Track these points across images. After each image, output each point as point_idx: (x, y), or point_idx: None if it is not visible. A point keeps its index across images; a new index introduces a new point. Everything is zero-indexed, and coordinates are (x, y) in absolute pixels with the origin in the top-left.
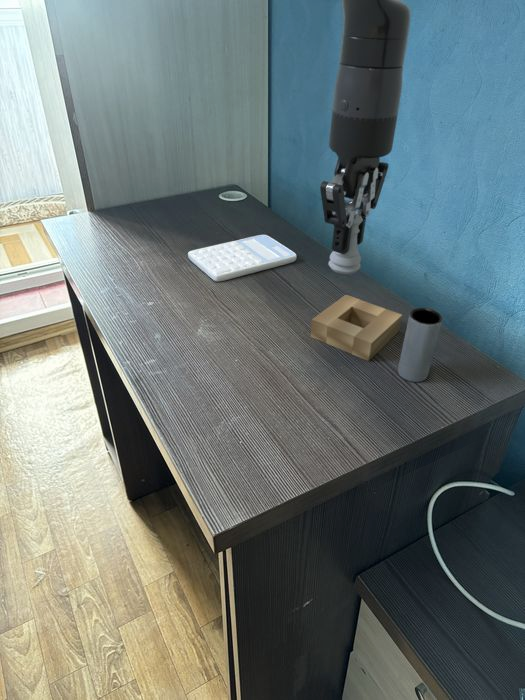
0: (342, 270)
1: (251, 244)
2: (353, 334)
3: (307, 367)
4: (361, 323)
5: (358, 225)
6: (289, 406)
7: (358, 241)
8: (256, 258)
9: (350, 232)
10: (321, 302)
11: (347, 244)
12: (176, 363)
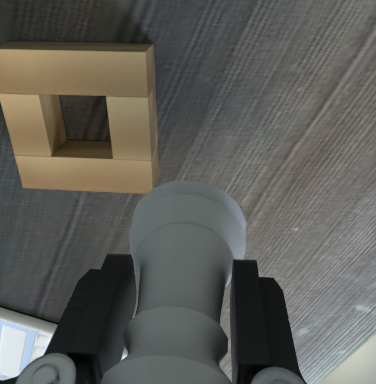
0: (240, 216)
1: (11, 367)
2: (142, 102)
3: (246, 131)
4: (59, 118)
5: (159, 341)
6: (371, 97)
7: (127, 266)
8: (40, 345)
9: (245, 334)
10: (49, 212)
11: (257, 288)
12: (349, 284)
